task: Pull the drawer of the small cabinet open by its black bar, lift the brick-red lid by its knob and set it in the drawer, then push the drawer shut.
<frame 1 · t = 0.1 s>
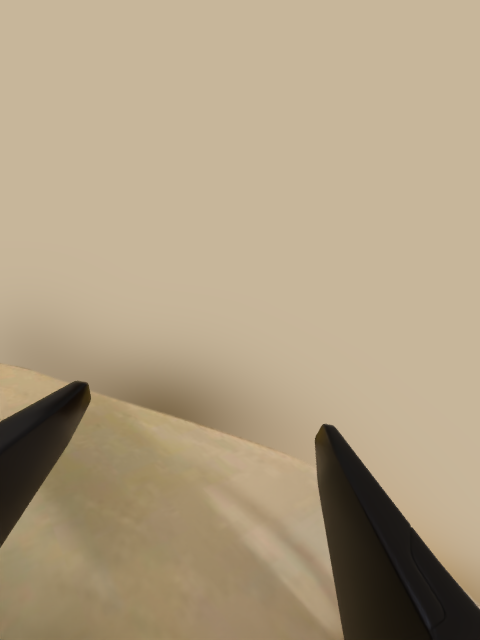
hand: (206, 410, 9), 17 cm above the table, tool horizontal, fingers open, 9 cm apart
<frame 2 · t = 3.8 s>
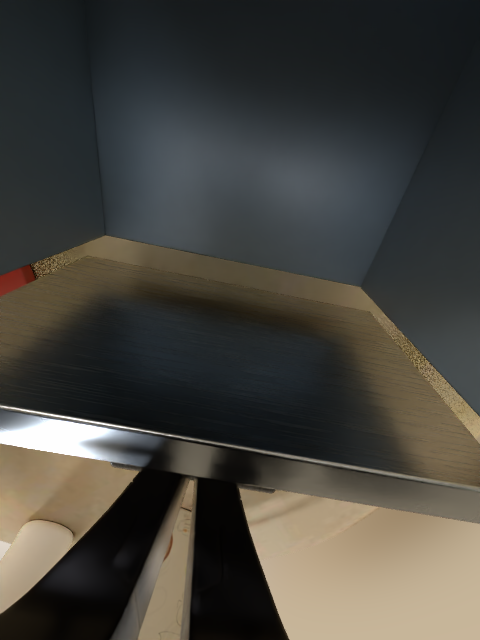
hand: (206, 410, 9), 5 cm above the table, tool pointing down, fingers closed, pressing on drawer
mug: (178, 526, 26), on the table
drawer: (240, 221, 6), point 5 cm above the table, slide at 5.3 cm, touching gripper
cup: (55, 529, 28), on the table
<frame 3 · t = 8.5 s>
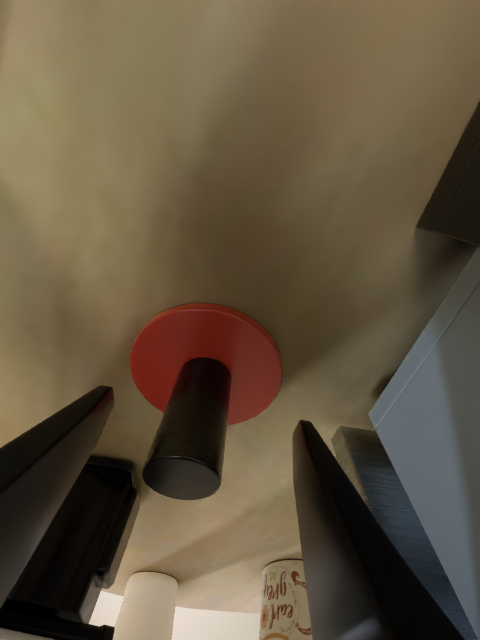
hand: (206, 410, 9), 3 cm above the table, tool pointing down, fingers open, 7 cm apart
mug: (294, 575, 25), on the table
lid: (207, 368, 12), on the table
cup: (158, 578, 28), on the table
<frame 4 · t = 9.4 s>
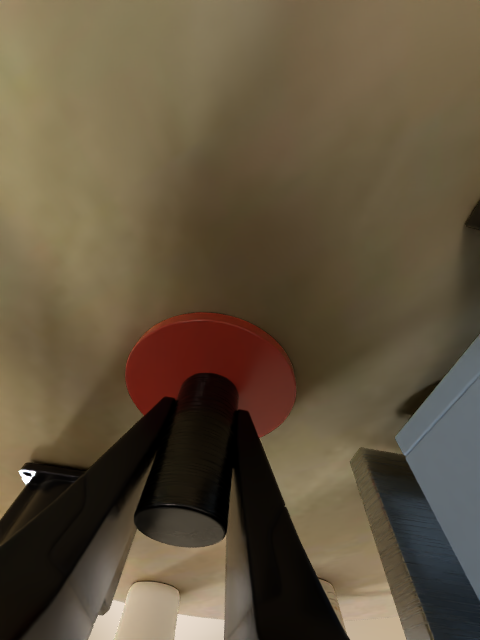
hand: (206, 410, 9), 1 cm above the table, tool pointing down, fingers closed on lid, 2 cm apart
mug: (301, 590, 24), on the table
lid: (212, 383, 11), on the table, touching gripper
cup: (159, 587, 27), on the table
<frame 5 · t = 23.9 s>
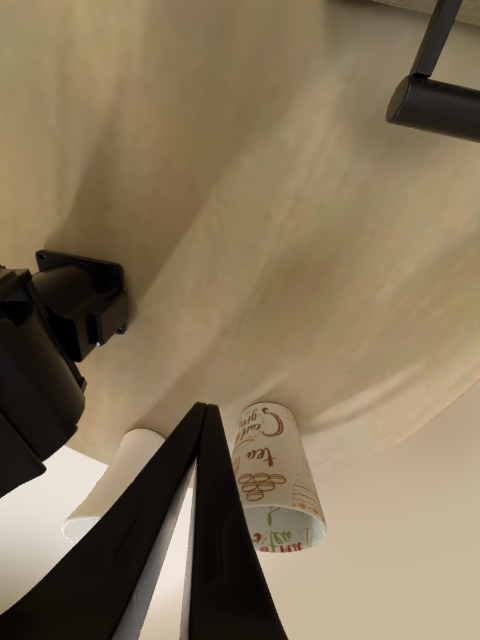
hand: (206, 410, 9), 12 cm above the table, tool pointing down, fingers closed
mug: (268, 430, 29), on the table
cup: (149, 441, 31), on the table
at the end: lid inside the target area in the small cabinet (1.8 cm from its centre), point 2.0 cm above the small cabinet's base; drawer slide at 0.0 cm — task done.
